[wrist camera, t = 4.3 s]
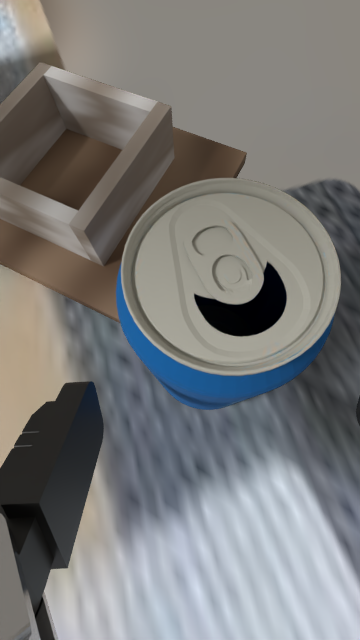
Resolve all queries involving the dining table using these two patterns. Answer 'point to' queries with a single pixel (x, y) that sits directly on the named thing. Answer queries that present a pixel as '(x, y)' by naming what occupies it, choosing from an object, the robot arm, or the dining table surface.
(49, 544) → the robot arm
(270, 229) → the beverage can
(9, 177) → the guard socket
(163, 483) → the dining table surface
